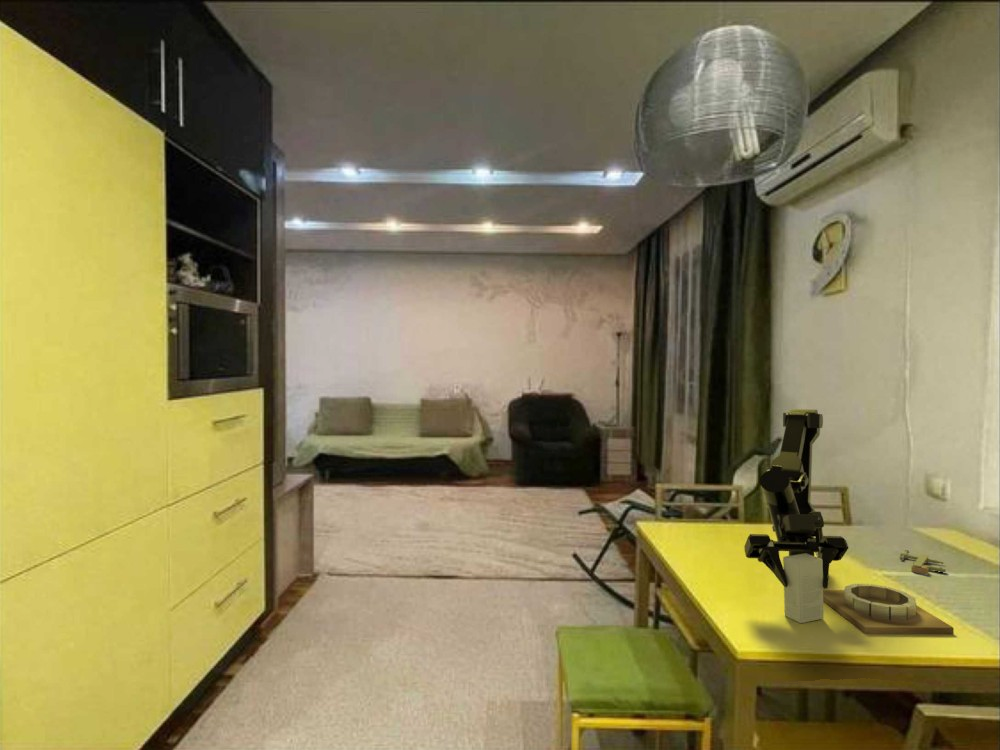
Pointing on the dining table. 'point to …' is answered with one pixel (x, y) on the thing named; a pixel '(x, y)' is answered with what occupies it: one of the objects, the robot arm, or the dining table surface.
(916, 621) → the walnut fitting board
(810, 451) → the robot arm
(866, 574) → the dining table surface
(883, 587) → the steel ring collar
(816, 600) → the skincare box
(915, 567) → the clamp
